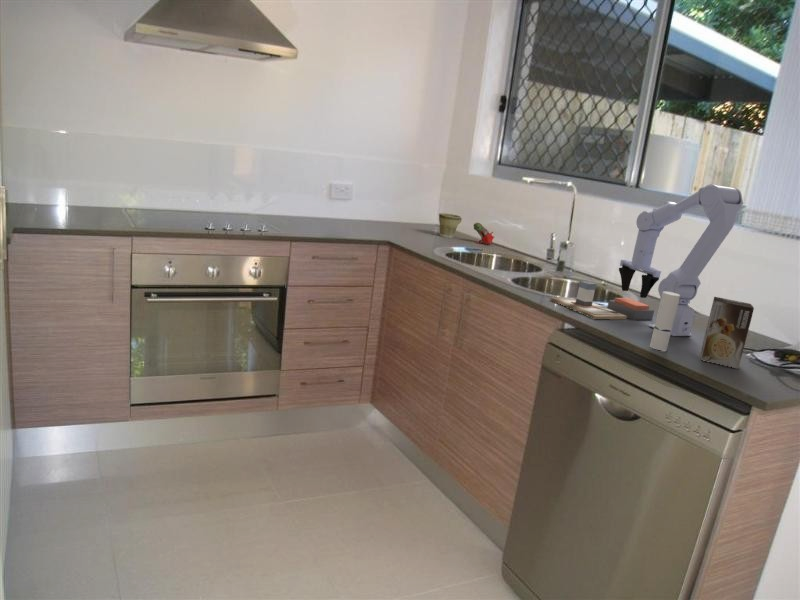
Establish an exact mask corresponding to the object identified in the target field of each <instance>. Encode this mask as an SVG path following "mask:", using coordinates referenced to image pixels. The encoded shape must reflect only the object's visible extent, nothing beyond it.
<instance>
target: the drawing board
mask: <svg viewBox="0 0 800 600" xmlns="http://www.w3.org/2000/svg"><path fill="white" fill-rule="evenodd" d="M576 299H577V297H550V301H551V302H553V303H555V302H556V303H555V304H557V303H558V305H560V304H561V305H560V306H562V305H563V306H562V307H564V306H566V307H565V308H567V307H568V308H567V309H569V308H571V309H573V310H572V311H574V310H576V311H578V312H581V313H583V314H585V315H588V316H590V317H592V318H594V319H593V320H595V319H610V320H627V318H628V317H627V316H625V315H623V314H620V313H618V312H616V311H613V310H611V309H608V308H607V307H605V306H604V305H600V304H598V303H595V302H594V301H592V306H582V305H579V304H577V303H576ZM571 309H570V310H571ZM576 311H575V312H576ZM578 312H577V313H578ZM581 313H580V314H581ZM583 314H582V315H583ZM585 315H584V316H585ZM588 316H587V317H588ZM590 317H589V318H590ZM592 318H591V319H592Z"/></svg>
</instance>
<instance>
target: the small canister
mask: <svg viewBox="0 0 800 600" xmlns="http://www.w3.org/2000/svg"><path fill="white" fill-rule="evenodd" d="M596 289H597V283H593V281H588V280H587V281H586V280H579V285H578V290H577V295H576V298H577V299H576V303H577V304H579V305H582V306H592V302H594V301H593V300H594V295H595V290H596Z"/></svg>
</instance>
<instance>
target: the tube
mask: <svg viewBox="0 0 800 600" xmlns="http://www.w3.org/2000/svg"><path fill="white" fill-rule="evenodd" d="M679 298H680V295H679V294H676V293H673V292H666V291H663V293H662V297H661V299H660V301H659V302H660V303H659V306H658V311H657V315H656V318H655V323H654V324H655V327H654V328H653V330H652V336H651V339H650V344H649V348H650V347H652V348H655V349H661V350H666V351H667V350H668V345H669V343H670V338H671V335H670V334H671V330H672V326H673V322H674V318H675V314H676V310H677V306H678V302H679ZM652 348H651V349H652Z"/></svg>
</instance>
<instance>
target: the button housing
mask: <svg viewBox="0 0 800 600" xmlns="http://www.w3.org/2000/svg"><path fill="white" fill-rule="evenodd" d="M606 308H608V309H611V310H613V311H616V312H618V313H620V314H623V315H625V316H627V318H629V319H631V320H632V321H636V320H637V321H644V320H645V321H646V320H647V321H649V320H650V321H652V320H653V317H654V313H655V309H652V308H649V310H635V309H633V308H630V307H627V306H625V305H622V304H620V303H617V302H615V299H608V303H607V307H606Z"/></svg>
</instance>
